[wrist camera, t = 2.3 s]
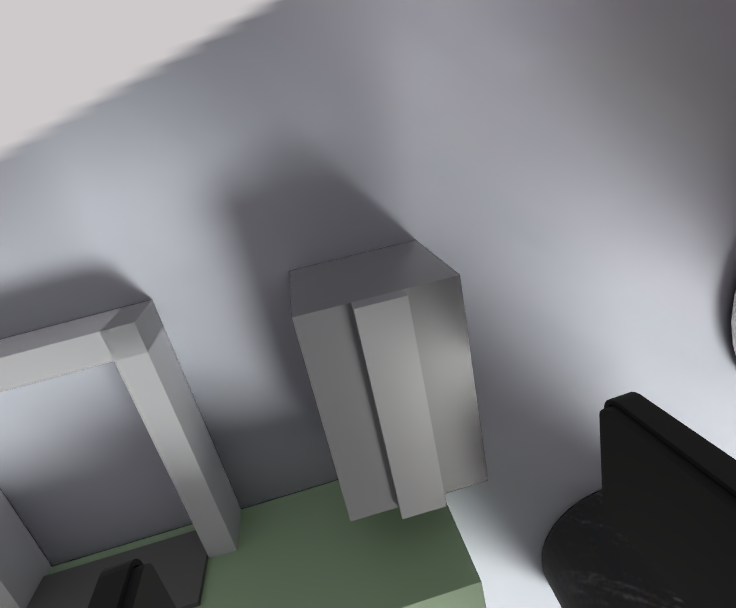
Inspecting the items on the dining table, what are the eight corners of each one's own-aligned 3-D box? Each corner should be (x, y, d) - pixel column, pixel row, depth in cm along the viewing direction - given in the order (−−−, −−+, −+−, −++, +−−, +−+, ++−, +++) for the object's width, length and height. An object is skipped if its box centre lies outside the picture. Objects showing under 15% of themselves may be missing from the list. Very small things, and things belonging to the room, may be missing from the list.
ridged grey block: (414, 239, 16) (466, 280, 12) (442, 404, 19) (494, 491, 14) (289, 269, 16) (292, 325, 11) (335, 434, 19) (352, 534, 14)
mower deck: (377, 240, 16) (480, 356, 8) (450, 570, 22) (551, 836, 14) (-118, 370, 15) (-637, 677, 6) (102, 683, 21) (-18, 1052, 12)
